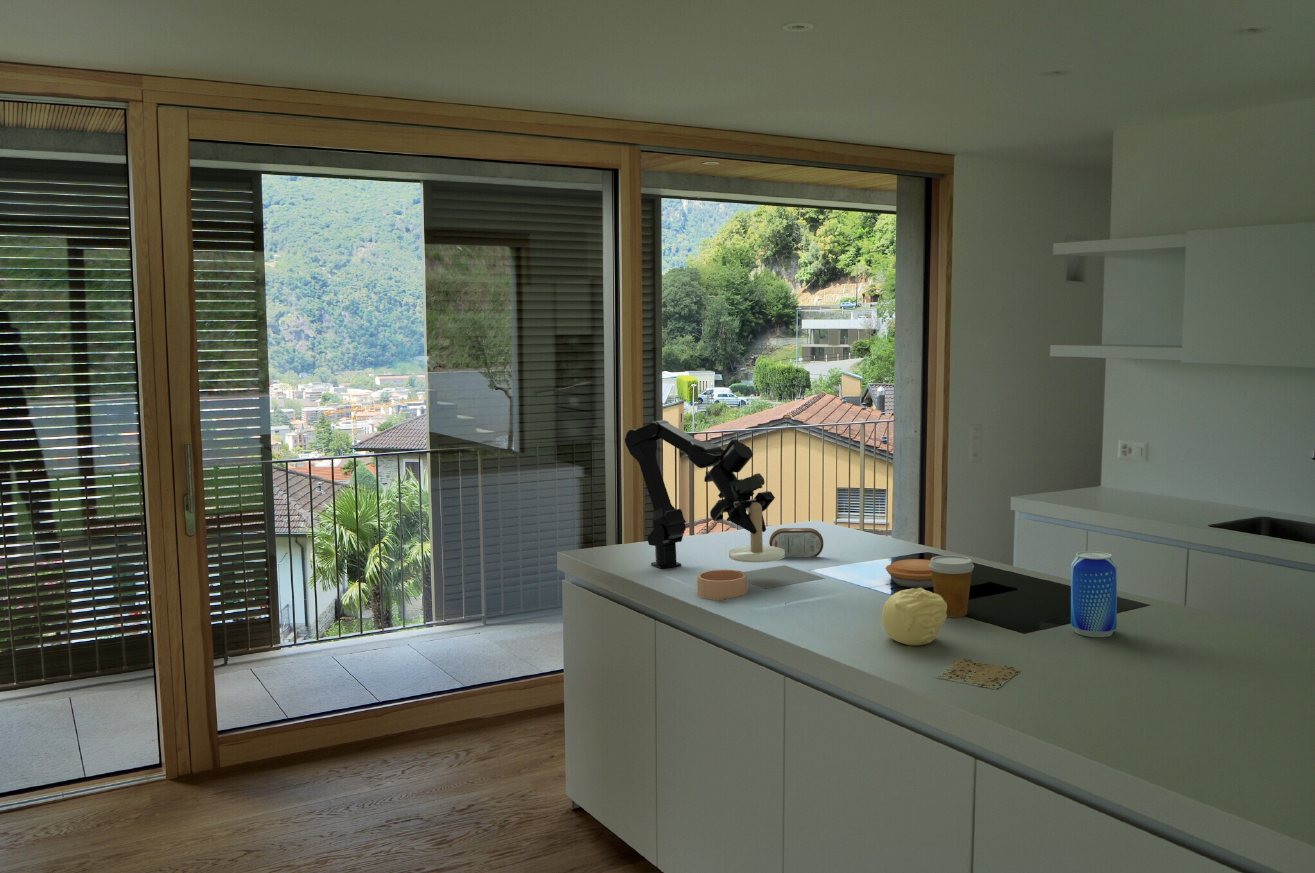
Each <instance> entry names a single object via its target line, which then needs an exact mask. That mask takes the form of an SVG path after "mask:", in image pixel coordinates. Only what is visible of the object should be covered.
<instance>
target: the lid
mask: <svg viewBox="0 0 1315 873" xmlns="http://www.w3.org/2000/svg"><path fill="white" fill-rule="evenodd" d="M762 514H763V512H762V506H761V505H760V504H759V503H757V502H754V503H752V504H751V506H750V520H751V521H752V523H753V525H754V526H755V528H756V530H757V532H756V534H753V533H751V532H749V534H750V535H749V537H750V545H744V546H739V547H735V548H732V549H730V550H729V551H728V557H729V559H731V560H733V561H737V562H742V563H769V562H776V561H780V560H782V559H784V558H786V557H785V551H784V550H783V549H781V548H778V547H773V546H770V545H764V544H763V532H762Z"/></svg>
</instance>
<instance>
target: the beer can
mask: <svg viewBox="0 0 1315 873" xmlns="http://www.w3.org/2000/svg"><path fill="white" fill-rule="evenodd" d="M1075 555H1076V556H1075V558H1074V559H1073V560H1072V562H1071V564H1070V568H1071V569H1070V626H1071V627H1072V628H1073V630H1074V632H1075V633H1076V634H1077V635H1080V636H1084V637H1089V638H1090V637H1091V638H1107V637H1111V636H1112V635H1113V633H1114V632H1115V631H1116V630H1117V626H1118V624H1117V620H1118V619H1117V617H1118V616H1117V615H1118V612H1117V609H1118V607H1117V603H1118V602H1117V597H1118V589H1117V588H1118V571H1117V570H1118V566H1117V564H1116V563H1115V561H1114V560H1113V558H1112V557H1113V556H1112V554H1111V553H1108V552H1105V551H1098V550H1097V551H1096V550H1083V551H1077V552H1076V553H1075Z"/></svg>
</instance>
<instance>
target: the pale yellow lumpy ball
mask: <svg viewBox="0 0 1315 873" xmlns="http://www.w3.org/2000/svg"><path fill="white" fill-rule="evenodd" d="M946 611H947V604H946V602H945V601H944V599H943V598H942V597H941V596H940V595H938V594H935V593H934V592H932V591H929V590H926V589H925V588H909V589H902V590H900V591H896V592H895V593H893V594H892V595H891V596H890V597H889V598H887V600H886V602H885V603H884V605H883V609H882V611H881V612H882V613H881V620H882V626H883V628H884V631H885V633H886V635H887V636H888V637H889V638H891V639H892V640H894V641H896V642H898V643H900V644H904V645H907V646H923V645H928V644H931V643H932V642H933V641H934V640H935V639H936V638H937V637H938V636H939V634H940V631H941V629H942V627H943V624H944V623H945V622H946V621H947V618H948V617H947V614H946Z"/></svg>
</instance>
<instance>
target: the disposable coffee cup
mask: <svg viewBox="0 0 1315 873" xmlns="http://www.w3.org/2000/svg"><path fill="white" fill-rule="evenodd" d="M930 560H931V561H930V564H929V567H930V570H931V574H932V580H933V587H932V588H933V593H935V594H938V595H940V596H941V597H942V598H943V599H944V601H945V602H946V604H947V611H946V614H947V617H946V618H961V617H965V616H967V614H968V606H969V597H970V590H971V582H972V575H973V574H972V572H973V570H974V568H975V565H974V564H973V560H972V558H970V557H967V556H963V555H962V556H961V555H951V554H949V555H945V554H944V555H937V556H933V557H931V558H930Z"/></svg>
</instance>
